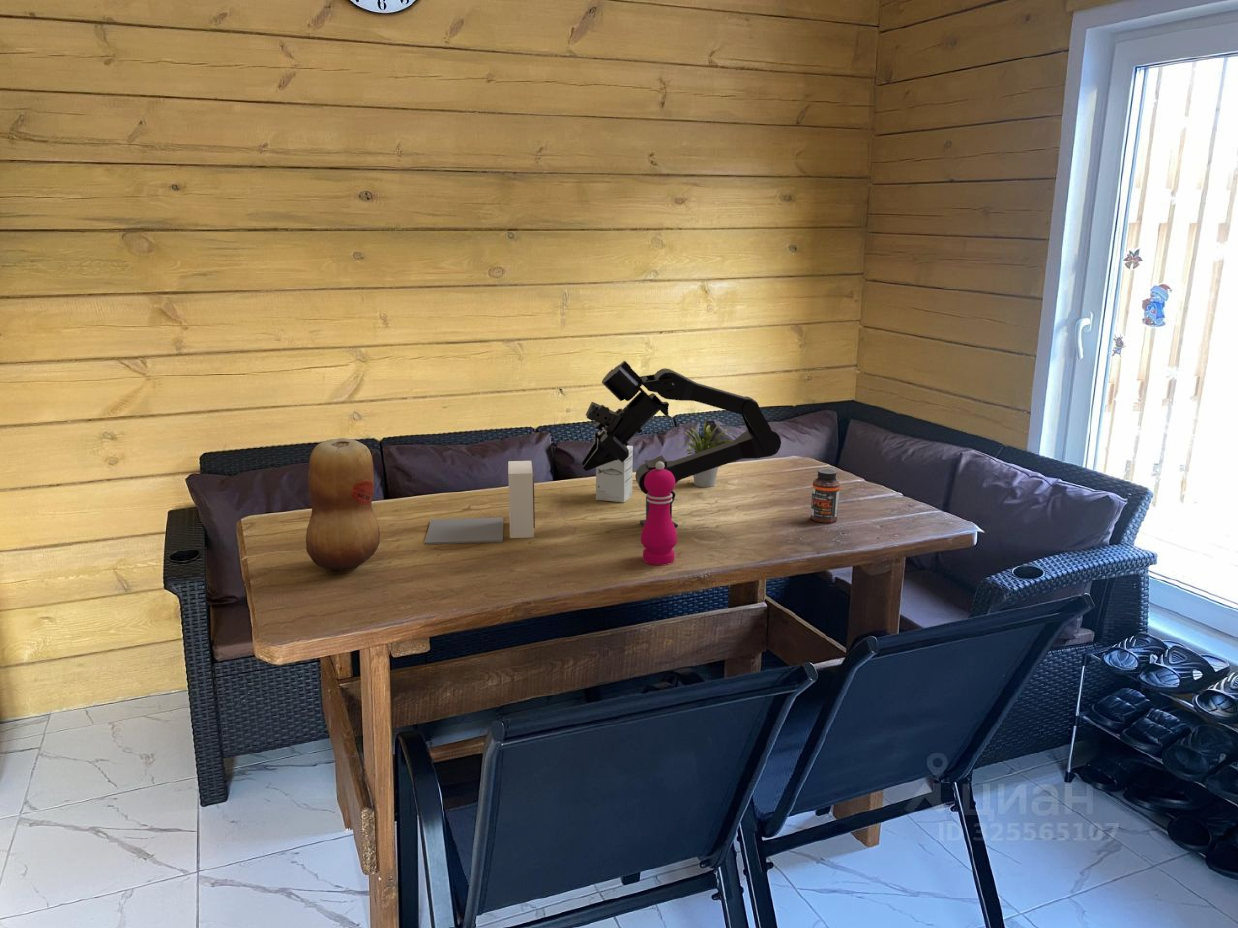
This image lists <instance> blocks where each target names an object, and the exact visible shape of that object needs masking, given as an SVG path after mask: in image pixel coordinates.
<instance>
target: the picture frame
mask: <svg viewBox="0 0 1238 928" xmlns="http://www.w3.org/2000/svg"><path fill="white" fill-rule="evenodd" d="M532 462H533V461H532V460H513V461H512V460H511V461H510V460H509V461H508V465H507V467H508V469H507V470H508V472H507V473H508V474H507V475H508V479H507V480H508V513H509V515H508V516H509V539H523V538H525V539H527V538H535V532H534V531H535V529H536V519H535V518H536V516H535V514H536V512H535V475H534V468H533V465H532V464H533V463H532Z"/></svg>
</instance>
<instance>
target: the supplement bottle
mask: <svg viewBox="0 0 1238 928" xmlns="http://www.w3.org/2000/svg"><path fill="white" fill-rule="evenodd" d="M811 488H812V491H811V504H810V505H811V506H810V518H811V519H812V520H813V521H815V522H817V523H822V522H823V523H827V524H829V523H830V524H831V523H834V522H836V521H837V520H838V516H839V515H838V514H839V513H838V512H839V500H840V499H839V498H840V482H839V480H837V471H836V470H834V469H829V468H821V469H818V471H817V478H814V480H813V482H812V487H811Z"/></svg>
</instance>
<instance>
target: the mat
mask: <svg viewBox="0 0 1238 928" xmlns="http://www.w3.org/2000/svg"><path fill="white" fill-rule="evenodd" d="M503 542H504V517H476V518H475V517H474V518H471V517H469V518H468V517H467V518H442V519H441V518H439V519H438V518H437V519H436V518H435V519H434V518H433V519H430V521H429V526H428V529H427V533H426V536H425V540H424V545H444V544H445V545H449V544H477V543H480V544H482V543H503Z"/></svg>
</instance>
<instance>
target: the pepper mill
mask: <svg viewBox="0 0 1238 928" xmlns="http://www.w3.org/2000/svg"><path fill="white" fill-rule="evenodd" d="M664 466H665V465H664V463H663V462H661V461H659V462H657V463H656V465H655V467H656V469H654V470H651V471H650V472H648V473H647V475H646V476H645V480H644V486H645V488H646V490H647V491H648V492H649V493H647V494H646V495H647V501H648V502H649V512H648V517H647V520H646V519H645V520H646V522H645V524H644V525H643V527H642V529H641V533H640V544H641V545H642V546H643V548H644V549H643V551H642V561H643V562H644V563H645V564H649V565H654V566H664V565H665V564H666V565H669V563H670V564H672V563H674V561H675V556H676V555H675V550H674V547H676V545H677V543H678V533H677V529H676V527H674V524H673V522H674V521H673V520H672V519H673V518H672V519H671V515H670V502H672V493H671V491H672V490H673V491H674V489H675V488H676V487H675V486H676V484H675V478H674V476H673V474H672V473H671V472H670V471H668V470H666V469H664ZM672 521H673V522H672ZM666 565H665V566H666Z"/></svg>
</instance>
